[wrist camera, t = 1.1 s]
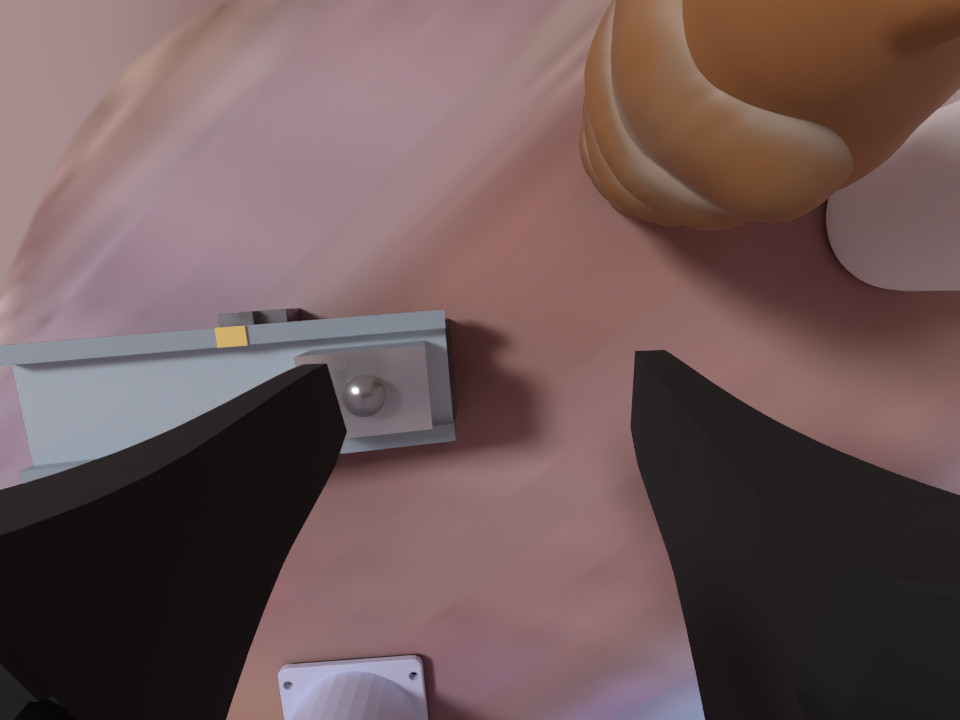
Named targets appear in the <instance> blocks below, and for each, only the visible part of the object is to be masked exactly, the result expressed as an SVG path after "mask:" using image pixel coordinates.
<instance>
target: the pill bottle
mask: <svg viewBox="0 0 960 720" xmlns="http://www.w3.org/2000/svg"><path fill="white" fill-rule="evenodd" d="M826 228H827V234H828V238H829V242H830V244H831V247H832V249H833V251H834V253H835V255H836V257H837V258H838V260H839V261H840V263H841V264H842V265H843V266H844V267H845V268H846V269H847V270H848V271H849V272H850V273H851V274H852V275H854V276H855V277H857V278H858V279H860V280H861V281H863V282H865V283H868V284H870V285H873V286H876V287H879V288H884V289H890V290H899V291H960V100H959V101H957V102H954V103H952V104H950V105H947V106H945V107H942V108H940V109H937V110H936V111H935V112H934V113H933V114H932V115H931V116H930V117H929V118H927V119H926V120H925V121H924V122H923V123H922V124H921V125H920V126H919V127H918V128H917V129H916V130H915V131H914V132H913V133H912V134H911V135H910V137H909V138H908V139H907V140H906V141H905V142H904V144H903V145H902V146H901V147H900V148H899V149H898V150H897V151H896V152H895V153H894V154H893V155H892V156H891V157H890V158H889V159H888V160H886V161H885V162H884V163H883V164H882V165H880V166H879V167H878V168H876V169H875V170H874V171H872V172H871V173H869V174H868V175H866V176H864V177H863V178H861V179H860V180H858V181H856V182H854V183H853V184H851V185H849V186H847V187H845V188H843V189H841V190H838V191H836V192H835V193H834V194H833V195H831V196H830V197H829V198H828V203H827V209H826Z"/></svg>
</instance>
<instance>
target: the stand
mask: <svg viewBox="0 0 960 720" xmlns="http://www.w3.org/2000/svg"><path fill="white" fill-rule="evenodd" d="M218 317H219V324H220V327H231V326H244V325H256V324H268V323H281V322H293V321H302V320H301V312H300V308H298V309H280V310H268V311H253V312H240V313H230V314H218ZM445 325H446V328H445V334H446V345H447V356H448V368H449V379H450V390H451V402H452V413H453V420H454V419H456V415H457V410H456V399H455V387H454V376H453V364H452V353H451V341H450V330H449V318H447V319H445Z"/></svg>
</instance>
